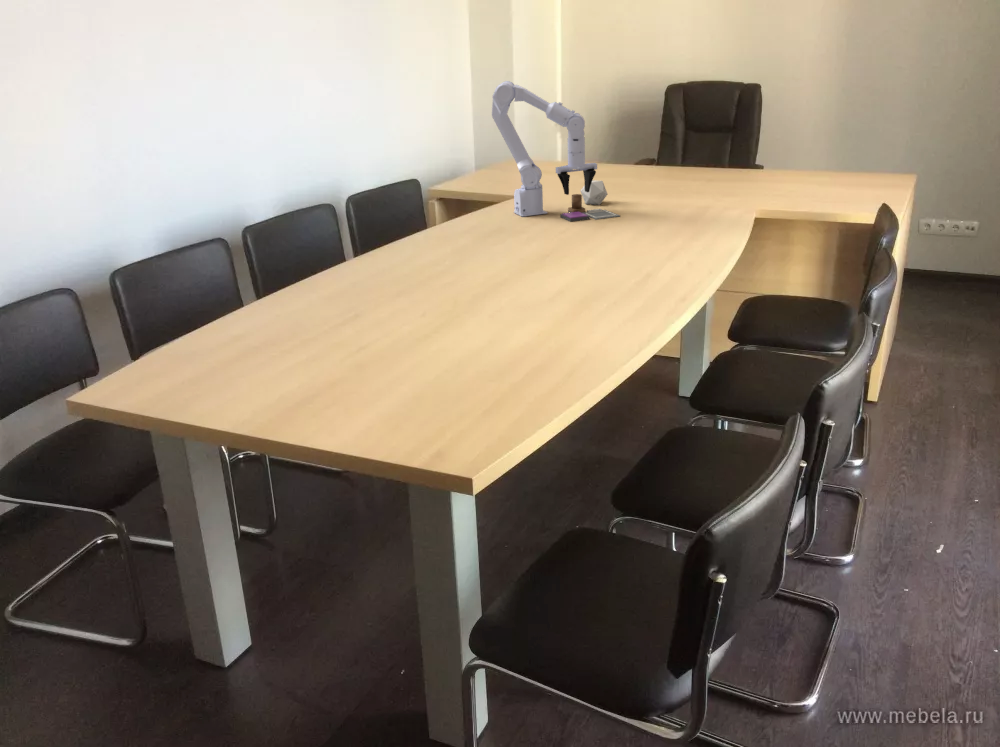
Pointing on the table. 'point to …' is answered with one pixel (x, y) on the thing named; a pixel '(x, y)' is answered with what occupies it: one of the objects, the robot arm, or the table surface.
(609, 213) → the grey framed plate
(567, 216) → the ink pad
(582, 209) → the stamp
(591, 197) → the die
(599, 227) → the table surface
